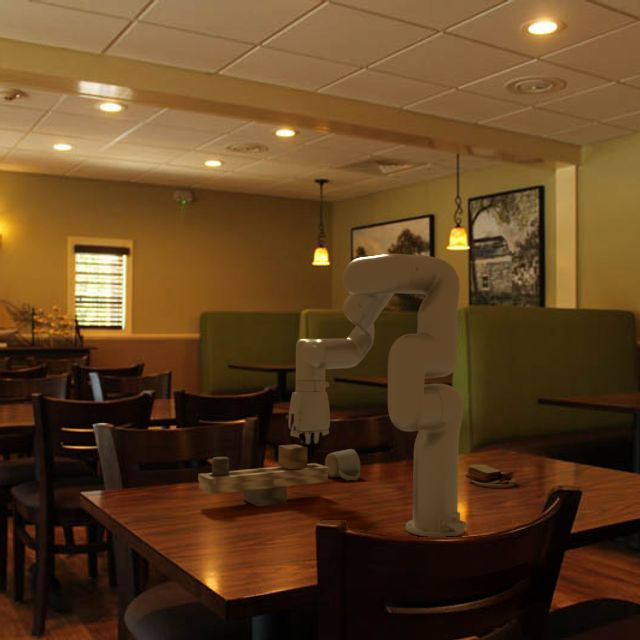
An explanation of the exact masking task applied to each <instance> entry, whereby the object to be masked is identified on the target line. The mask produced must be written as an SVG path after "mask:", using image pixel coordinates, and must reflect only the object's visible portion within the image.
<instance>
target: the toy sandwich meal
mask: <svg viewBox="0 0 640 640" xmlns="http://www.w3.org/2000/svg"><path fill="white" fill-rule="evenodd" d="M515 473H516V470H512V471H510V472H509V471H508V472H503V471H501V470H500V469H496V468H494V467H491V466H488V465H487V464H471V465H469V466H468V469H467V473H466V474H465V478H466V479H469V480H470V481H471V483H472V484H473V485H475V486H478V487H483V488H490V489H491V488H493V489H506V488H512V487H514V486H515V485H516V484H517V480H515V479H513V478H514V477H515Z"/></svg>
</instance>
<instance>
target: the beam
mask: <svg viewBox="0 0 640 640" xmlns="http://www.w3.org/2000/svg"><path fill="white" fill-rule="evenodd" d="M211 461H212V462H211V463H212V464H211V468H212V469H211V472H208V473H198V475H197V476H198V477H197V481H198V482H199V483H198V488H199V490H201V491H203V492H206V493H207V494H209V495H216V494H226V493H227V494H229V493H236V492H243V493H242V494H243V496H242V497H243V498H242V499H243V501H245V502H248V503H249V504H252V505H254V506H256V507H263V506H271V505H280V504H287V503H288V498H287V497H288V487H291V486H302V485H309V484H312V485H313V484H318V483H328V481H329V477H328V476H329V475H328V474H329V467H326V466H325V465H322V464H320V463H316V462H313V463H312V462H311V463H307V468H302V469H293V470H283V468H284V467H282V466H271V467H258V468H252V469H251V468H250V469H238V470H230V458H229V457H228V456H215V457H212V460H211Z"/></svg>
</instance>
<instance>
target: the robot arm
mask: <svg viewBox="0 0 640 640" xmlns="http://www.w3.org/2000/svg"><path fill="white" fill-rule="evenodd" d="M342 284H343V287H344V288H345V290H346V292H348V293H349V295H348V297H347V298H346V300H344V302H343V305H342V311H343V314H344V315H345V317H346V318H347V319H348V320H349V321H350V322H351V323H352V324H353V325H354V326H355V327H354V328H353V329H352V331H351V332H350V334H349V335H348V337H346V338H300V339H298V340H297V342H296V344H295V345H296V346H295V391H294V392H293V391H292V394H291V398H290V401H289V402H290V403H289V409H288V410H289V411H288V429H289V430H290V433H289V434H290V435H289V436H291V437H294V438H298V439H299V440H300V442H301V443H302V446H303V447H307V461H308V460H316V455H317V444H318V443H319V441H320V439H322V437H324V436H326V435H329V434H330V430H329V428H330V425H331V424H330V423H331V413H330V401H329V396H328V393H327V391H326V388H329V387H330V383H329V382H328V381H326V370H333V369H351V368H353V367H356V366H357V365H358V364H360V363H361V361H362V360H363V359H364V358H365V357H366V356H367V354H368V352H369V351H370V350H371V348H372V346H373V344H374V340H375V334H376V333H375V322H376V320H377V319H378V317H379V316H380V315H381V313H382V311H383V310H384V309H385V308H386V307H387V305H388V303H389V302H390V300H391V299H392V297H393V296H394V295H395V294H411V295H412V294H413V295H414V294H415V295H416V294H417V295H418V294H420V295H423V296H425V297H423V300H422V302H421V304H420V306H419V308H418V312H417V330H416V333H406V334H403V335H401V336H400V337H398V338H397V339H395V341H394V342H393V343H392V345H391V347H390V349H389V354H388V360H387V409H388V410H387V411H388V415H389V418H390V421H391V423H392V424H393V425H394V427H395V428H397V429H399V430H400V431H403V432H417V434H416V438H415V440H414V447H413V474H412V475H413V477H412V478H413V481H412V484H413V486H412V488H413V489H412V492H413V493H412V519H410V520H409V521H407V522H406V523H405V530H406V531H407V532H408V533H411V534H412V535H417V536H421V537H426V536H427V538H447V537H446V536H454V537H458V536H461V535H463V534H464V533H465V528H466V527H467V526H468V524H467V522H466V521H464V520H461V512H460V511H458V504H459V503H458V502H459V501H458V498H459V497H458V495H459V441H460V432H461V426H462V422H463V421H462V420H463V416H464V402H463V398H462V395H461V394H460V391H458V390H457V389H456V388H455V387H453V386H451V385H449V384H444V383H427V384H426V383H425V379H432V378H433V379H435V378H445V377H447V376H449V375H451V374H453V372H454V371H455V369H456V366H457V362H458V307H459V297H460V292H461V291H460V287H461V286H460V285H461V284H460V280H459V276H458V273H457V272H456V270H455V269H454V267H453V266H452V265H451V263H450V262H448V261H445V260H444V259H441V258H439V257H435V256H429V255H421V254H406V253H405V254H404V253H386V254H384V253H383V254H379V255H378V254H377V255H372V256H363V257H357V258H355V259H352V261H350V262H349V263H348V264H347V266H346V267H345V269H344V271H343V275H342Z"/></svg>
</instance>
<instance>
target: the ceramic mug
mask: <svg viewBox="0 0 640 640" xmlns="http://www.w3.org/2000/svg"><path fill="white" fill-rule="evenodd" d="M324 466H326V467H329V474H328V476H329V477H331V478H333V477H335V478H336V479H339V478H341V479H343V480H345V481H349V480H355V481H357V480H359V478H360V474H361V472H360V470H361V461H360V456H359V455H358V453H357V452H356V450H355V449H352V448H349V449H345V450H339V451H334V452H331V453H329V454H327V456H326V457H325V461H324ZM338 477H339V478H338Z"/></svg>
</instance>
